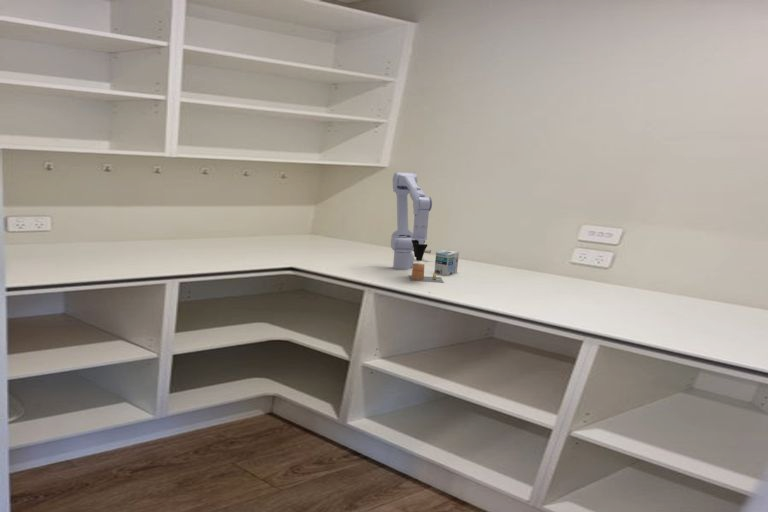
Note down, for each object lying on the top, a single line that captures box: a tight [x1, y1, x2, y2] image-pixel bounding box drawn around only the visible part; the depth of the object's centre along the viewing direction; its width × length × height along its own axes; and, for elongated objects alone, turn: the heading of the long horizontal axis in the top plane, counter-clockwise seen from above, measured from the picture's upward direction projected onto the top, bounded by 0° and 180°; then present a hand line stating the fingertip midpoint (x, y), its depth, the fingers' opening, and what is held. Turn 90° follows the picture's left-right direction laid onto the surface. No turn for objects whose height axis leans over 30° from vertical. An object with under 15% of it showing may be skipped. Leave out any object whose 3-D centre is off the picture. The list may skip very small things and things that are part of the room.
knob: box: [411, 262, 425, 280], centre depth 218 cm, size 5×5×6 cm
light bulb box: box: [433, 249, 460, 277], centre depth 233 cm, size 11×7×11 cm, turn 148°
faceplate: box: [408, 273, 445, 284], centre depth 218 cm, size 14×10×4 cm
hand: (417, 258), depth 217 cm, fingers open, 7 cm apart
